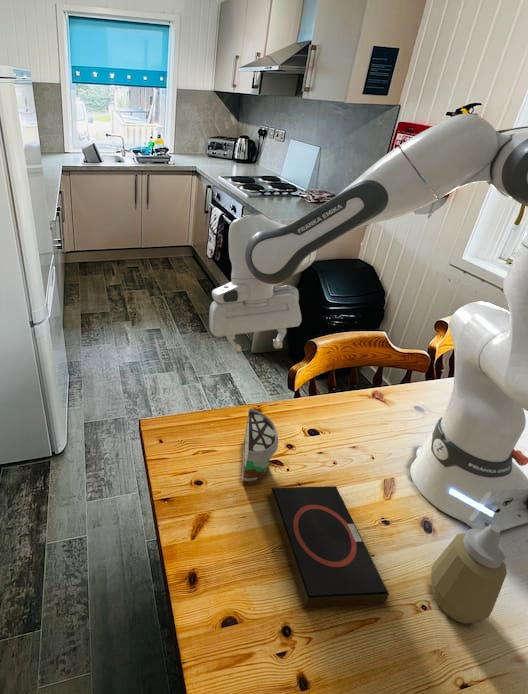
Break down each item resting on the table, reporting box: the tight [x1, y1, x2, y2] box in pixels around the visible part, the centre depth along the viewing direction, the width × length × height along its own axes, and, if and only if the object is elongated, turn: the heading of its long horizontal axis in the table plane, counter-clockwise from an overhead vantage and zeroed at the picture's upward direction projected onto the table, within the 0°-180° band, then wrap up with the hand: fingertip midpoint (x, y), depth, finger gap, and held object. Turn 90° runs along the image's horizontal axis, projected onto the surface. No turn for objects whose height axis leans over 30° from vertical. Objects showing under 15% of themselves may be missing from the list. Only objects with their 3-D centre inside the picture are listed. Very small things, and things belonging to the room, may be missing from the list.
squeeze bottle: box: [430, 524, 507, 624], centre depth 59 cm, size 8×8×18 cm
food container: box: [241, 407, 279, 484], centre depth 82 cm, size 12×6×10 cm, turn 168°
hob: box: [269, 485, 390, 609], centre depth 69 cm, size 13×18×3 cm
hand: (257, 350), depth 87 cm, fingers open, 8 cm apart
